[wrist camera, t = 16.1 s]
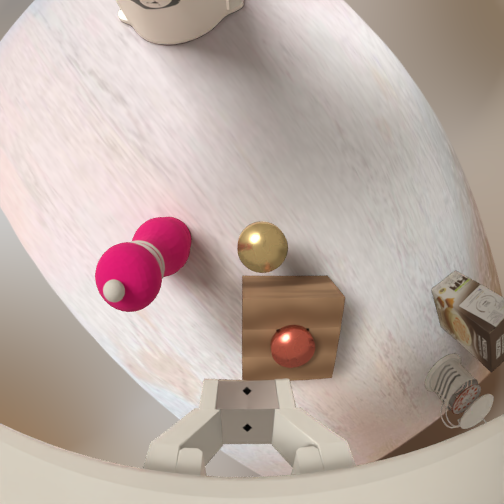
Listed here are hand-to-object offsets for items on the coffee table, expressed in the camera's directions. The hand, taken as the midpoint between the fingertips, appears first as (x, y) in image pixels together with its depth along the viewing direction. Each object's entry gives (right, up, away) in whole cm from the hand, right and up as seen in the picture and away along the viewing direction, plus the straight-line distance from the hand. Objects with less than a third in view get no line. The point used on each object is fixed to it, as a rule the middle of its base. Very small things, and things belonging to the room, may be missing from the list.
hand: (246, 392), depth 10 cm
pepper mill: (-11, +7, +30) cm, 33 cm away
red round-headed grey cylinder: (+5, -4, +33) cm, 33 cm away
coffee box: (+35, -3, +34) cm, 49 cm away
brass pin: (+1, +8, +30) cm, 31 cm away
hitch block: (+5, -4, +33) cm, 34 cm away
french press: (+40, -21, +39) cm, 59 cm away
